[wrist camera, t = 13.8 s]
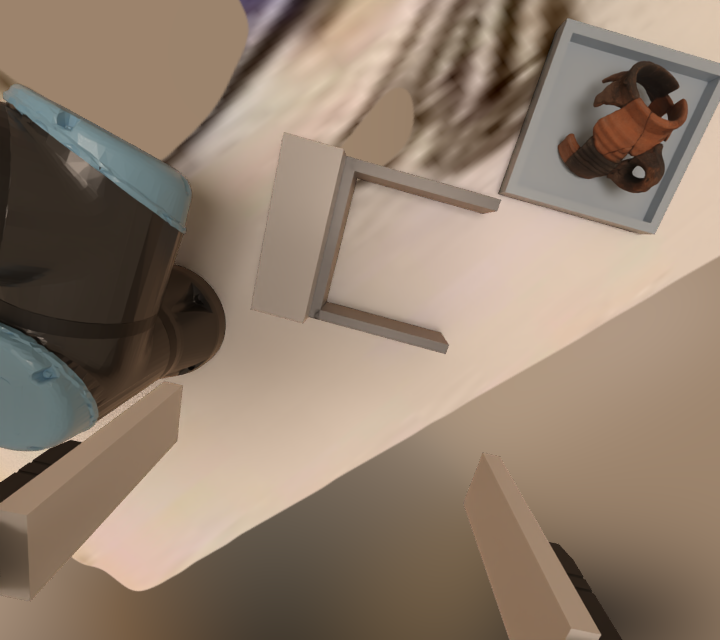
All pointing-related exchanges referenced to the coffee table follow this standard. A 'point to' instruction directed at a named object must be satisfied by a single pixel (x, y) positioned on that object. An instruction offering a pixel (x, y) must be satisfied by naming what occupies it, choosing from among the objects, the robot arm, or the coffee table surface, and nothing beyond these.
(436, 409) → the coffee table surface
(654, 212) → the tray
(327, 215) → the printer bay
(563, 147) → the pottery mug
